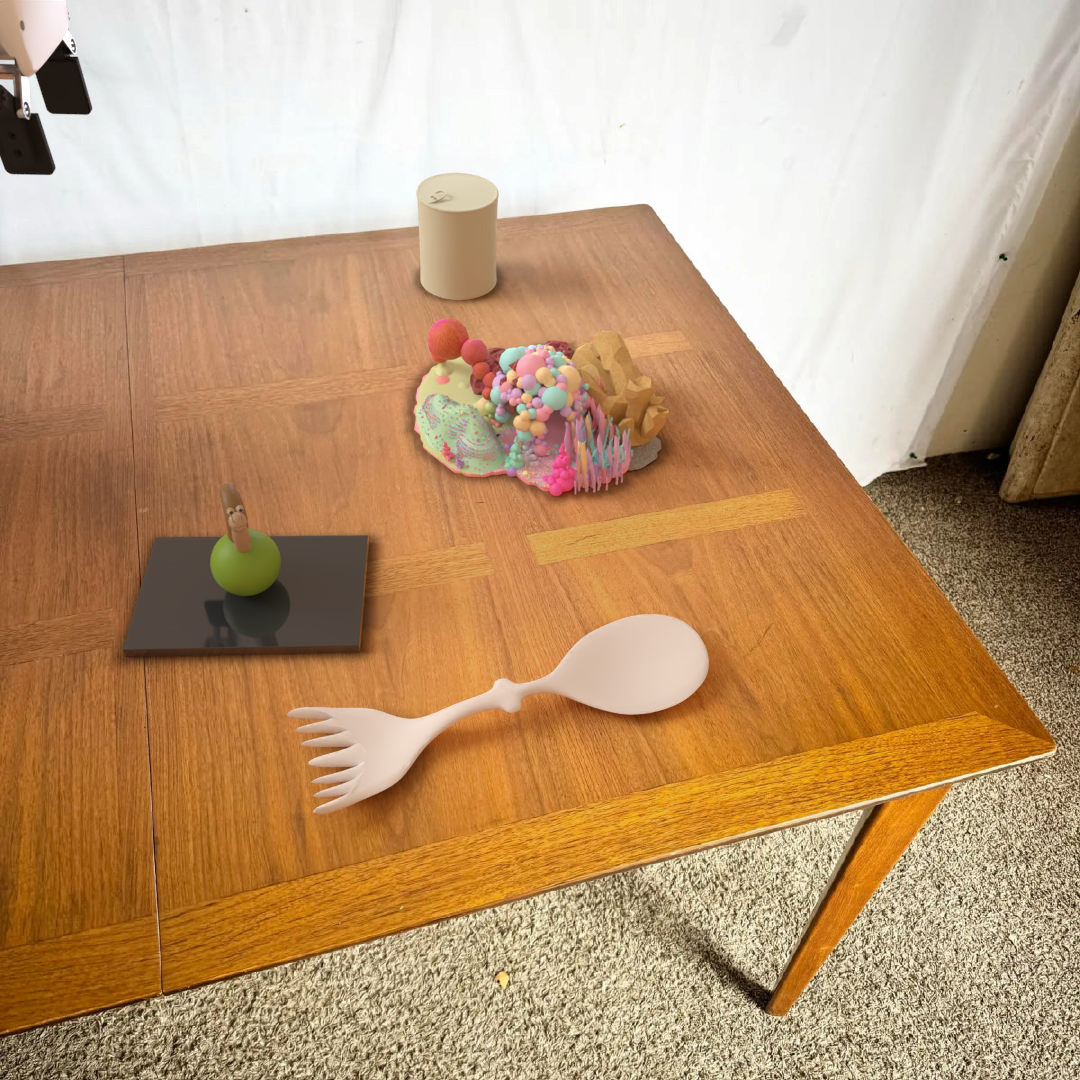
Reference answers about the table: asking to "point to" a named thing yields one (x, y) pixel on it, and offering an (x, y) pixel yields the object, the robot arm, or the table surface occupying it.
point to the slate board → (251, 601)
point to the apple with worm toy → (243, 551)
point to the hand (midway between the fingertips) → (52, 141)
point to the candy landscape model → (537, 410)
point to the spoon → (514, 701)
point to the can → (457, 235)
